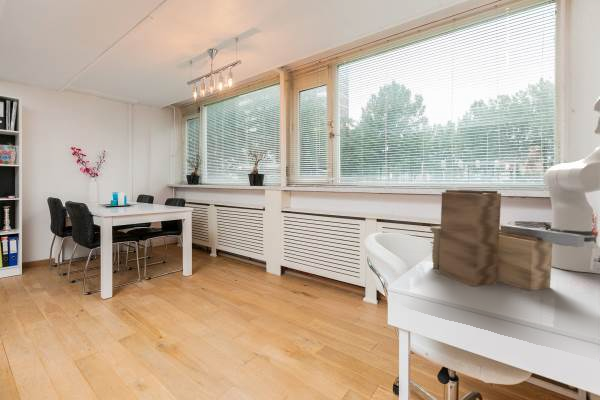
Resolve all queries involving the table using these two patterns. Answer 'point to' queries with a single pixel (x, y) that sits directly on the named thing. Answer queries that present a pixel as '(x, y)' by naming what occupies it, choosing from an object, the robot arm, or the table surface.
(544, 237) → the bar
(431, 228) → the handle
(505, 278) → the light wood grain block
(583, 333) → the table surface
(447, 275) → the tall wood grain block
